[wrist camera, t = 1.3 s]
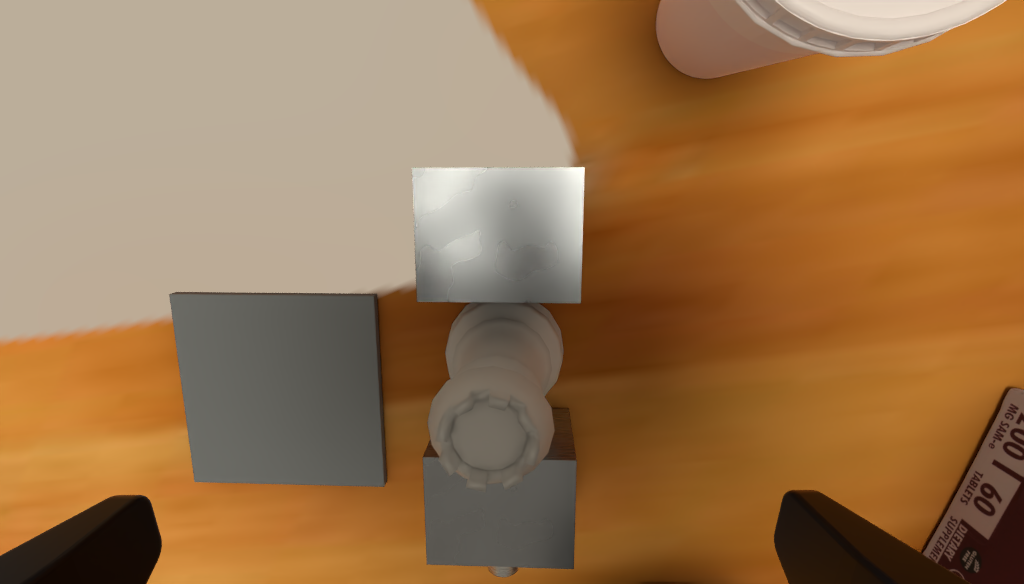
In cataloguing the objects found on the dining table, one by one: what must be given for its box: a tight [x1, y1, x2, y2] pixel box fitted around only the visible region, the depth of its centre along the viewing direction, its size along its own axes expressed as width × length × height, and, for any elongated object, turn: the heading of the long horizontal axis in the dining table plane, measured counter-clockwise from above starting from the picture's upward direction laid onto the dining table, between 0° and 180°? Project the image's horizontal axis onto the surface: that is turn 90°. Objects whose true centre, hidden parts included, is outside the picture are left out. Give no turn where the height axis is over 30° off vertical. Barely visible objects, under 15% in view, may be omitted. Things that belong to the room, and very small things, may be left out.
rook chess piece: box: [427, 302, 564, 492], centre depth 16 cm, size 4×4×8 cm
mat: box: [170, 292, 387, 487], centre depth 21 cm, size 8×8×1 cm
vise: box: [412, 167, 585, 577], centre depth 18 cm, size 15×5×4 cm, turn 0°
